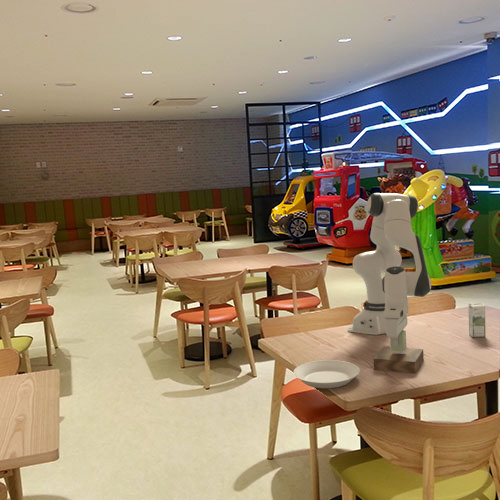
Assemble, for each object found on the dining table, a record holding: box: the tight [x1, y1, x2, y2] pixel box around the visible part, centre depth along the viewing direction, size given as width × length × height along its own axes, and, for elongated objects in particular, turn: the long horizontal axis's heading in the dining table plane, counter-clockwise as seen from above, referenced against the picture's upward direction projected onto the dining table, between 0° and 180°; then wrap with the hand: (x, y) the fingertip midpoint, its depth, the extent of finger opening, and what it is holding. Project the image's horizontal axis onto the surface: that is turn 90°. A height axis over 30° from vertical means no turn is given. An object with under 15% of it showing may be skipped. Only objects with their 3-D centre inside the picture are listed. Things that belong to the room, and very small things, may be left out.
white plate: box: [292, 359, 361, 389], centre depth 219 cm, size 25×25×4 cm
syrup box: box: [468, 302, 487, 338], centre depth 258 cm, size 6×6×14 cm
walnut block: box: [372, 346, 425, 374], centre depth 229 cm, size 16×16×5 cm
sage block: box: [389, 329, 407, 352], centre depth 228 cm, size 5×5×7 cm
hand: (398, 342), depth 228 cm, fingers closed on sage block, 5 cm apart
